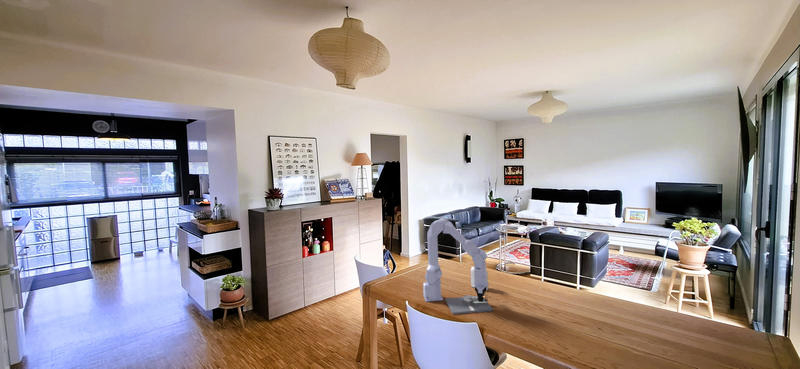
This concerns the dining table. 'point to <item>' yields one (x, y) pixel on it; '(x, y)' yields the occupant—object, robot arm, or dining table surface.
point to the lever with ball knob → (473, 298)
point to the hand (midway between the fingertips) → (480, 301)
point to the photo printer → (473, 278)
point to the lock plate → (467, 306)
